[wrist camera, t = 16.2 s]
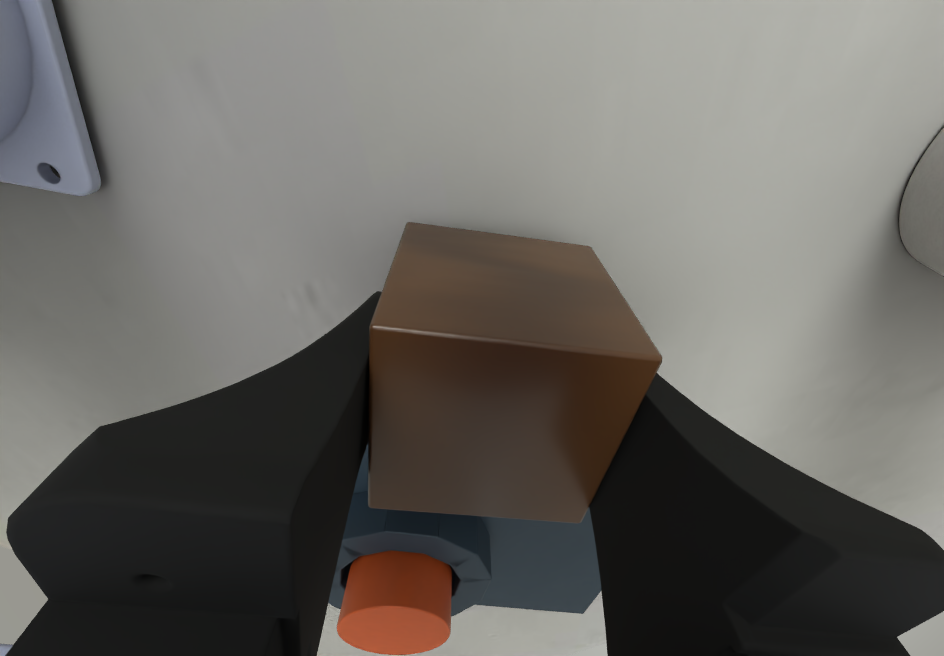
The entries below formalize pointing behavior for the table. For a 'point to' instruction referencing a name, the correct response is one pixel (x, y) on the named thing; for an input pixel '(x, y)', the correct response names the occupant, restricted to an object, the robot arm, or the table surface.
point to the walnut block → (499, 376)
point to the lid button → (396, 603)
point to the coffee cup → (925, 209)
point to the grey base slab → (479, 554)
